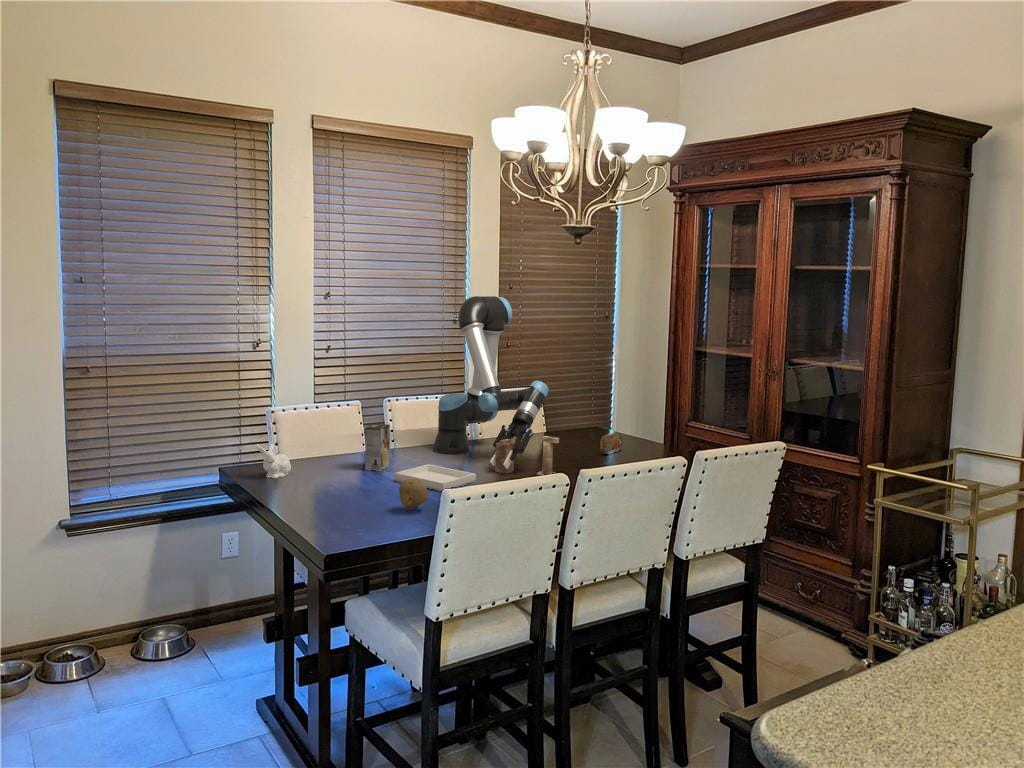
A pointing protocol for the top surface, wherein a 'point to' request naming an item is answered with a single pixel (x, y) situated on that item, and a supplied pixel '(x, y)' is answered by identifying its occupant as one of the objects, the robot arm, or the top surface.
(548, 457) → the oak post
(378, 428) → the coffee box
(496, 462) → the brown upright block
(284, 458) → the rabbit
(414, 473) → the tray
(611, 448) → the tin
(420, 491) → the natural sponge
